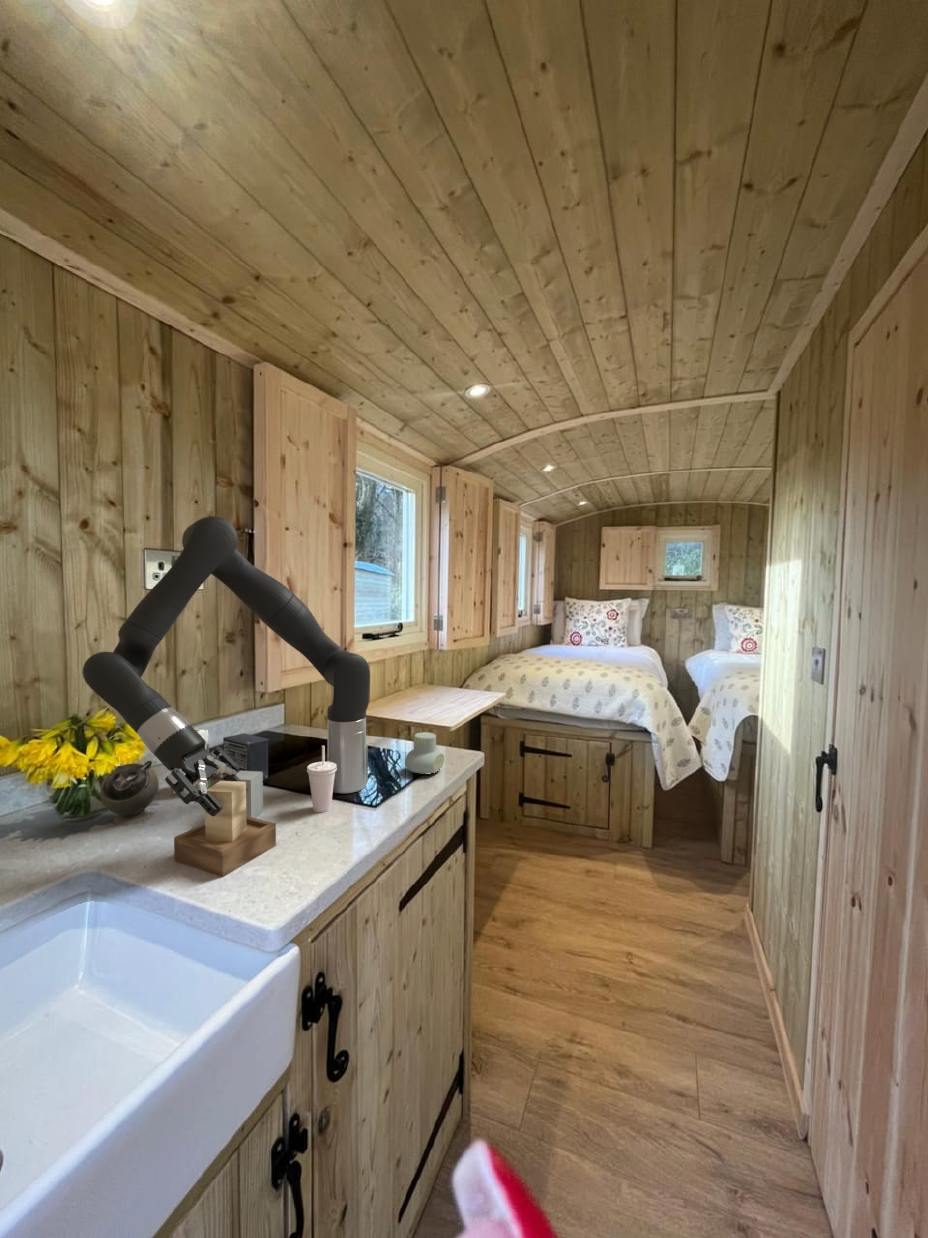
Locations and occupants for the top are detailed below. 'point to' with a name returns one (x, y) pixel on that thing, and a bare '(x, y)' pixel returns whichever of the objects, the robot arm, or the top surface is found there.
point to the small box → (248, 752)
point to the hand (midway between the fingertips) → (231, 802)
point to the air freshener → (424, 754)
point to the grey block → (253, 792)
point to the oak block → (227, 811)
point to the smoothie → (322, 783)
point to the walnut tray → (224, 847)
